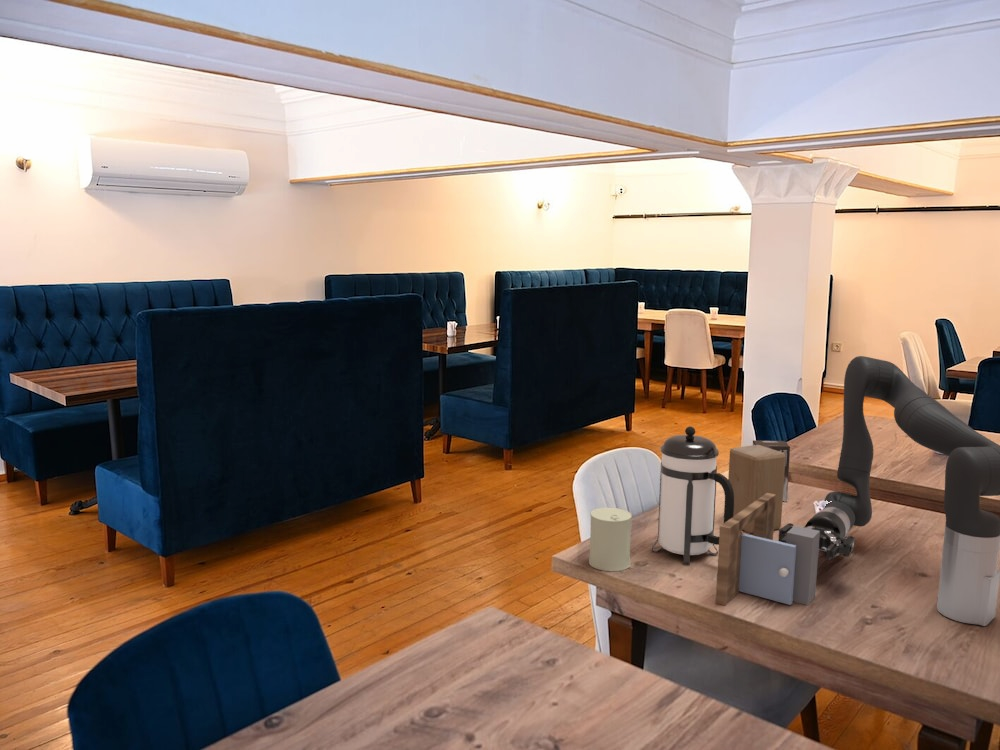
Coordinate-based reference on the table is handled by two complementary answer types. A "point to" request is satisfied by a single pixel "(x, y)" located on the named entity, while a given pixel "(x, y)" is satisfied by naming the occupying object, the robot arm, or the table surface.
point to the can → (610, 539)
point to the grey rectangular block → (804, 562)
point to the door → (767, 568)
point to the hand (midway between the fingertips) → (806, 549)
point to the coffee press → (690, 495)
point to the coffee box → (785, 448)
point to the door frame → (732, 541)
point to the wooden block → (756, 478)
